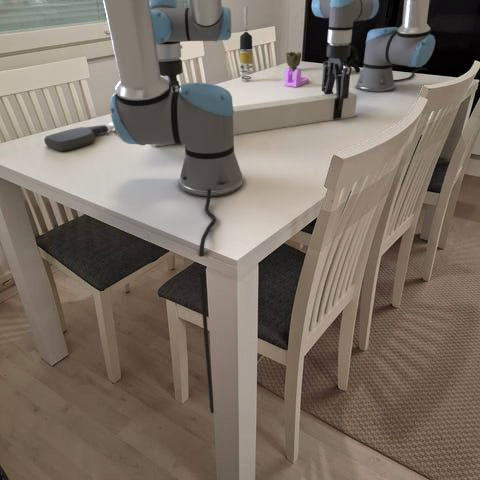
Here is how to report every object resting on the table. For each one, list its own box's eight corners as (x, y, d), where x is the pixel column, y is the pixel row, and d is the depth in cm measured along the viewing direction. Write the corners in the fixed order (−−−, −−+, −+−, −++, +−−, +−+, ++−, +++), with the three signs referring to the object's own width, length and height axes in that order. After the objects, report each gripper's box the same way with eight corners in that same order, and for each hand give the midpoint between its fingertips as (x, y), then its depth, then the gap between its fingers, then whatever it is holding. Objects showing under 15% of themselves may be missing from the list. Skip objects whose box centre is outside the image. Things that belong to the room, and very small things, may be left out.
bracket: (296, 87, 192) (296, 70, 189) (285, 85, 195) (285, 68, 192) (310, 81, 201) (311, 65, 197) (300, 79, 204) (300, 63, 200)
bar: (154, 146, 133) (151, 122, 129) (150, 141, 137) (147, 117, 133) (354, 116, 155) (357, 94, 151) (346, 112, 160) (348, 91, 156)
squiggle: (349, 83, 219) (328, 64, 222) (365, 68, 218) (343, 49, 221) (351, 72, 208) (328, 52, 210) (368, 57, 207) (344, 36, 210)
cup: (283, 70, 221) (283, 53, 217) (288, 68, 227) (289, 51, 222) (297, 72, 218) (298, 54, 214) (302, 69, 224) (303, 52, 219)
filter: (254, 81, 203) (254, 7, 187) (243, 82, 201) (242, 7, 185) (249, 78, 208) (249, 6, 192) (238, 79, 206) (237, 6, 190)
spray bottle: (43, 145, 135) (109, 126, 151) (63, 153, 129) (130, 132, 145) (40, 136, 134) (108, 117, 150) (60, 143, 128) (129, 123, 144)
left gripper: (191, 63, 119) (196, 146, 131) (172, 52, 134) (179, 128, 146) (163, 66, 116) (172, 150, 129) (147, 54, 131) (156, 131, 144)
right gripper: (366, 47, 137) (356, 121, 149) (333, 39, 151) (327, 108, 163) (345, 49, 134) (337, 124, 147) (314, 40, 149) (309, 110, 161)
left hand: (175, 138), depth 137 cm, fingers open, 6 cm apart
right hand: (332, 115), depth 155 cm, fingers closed on bar, 5 cm apart
